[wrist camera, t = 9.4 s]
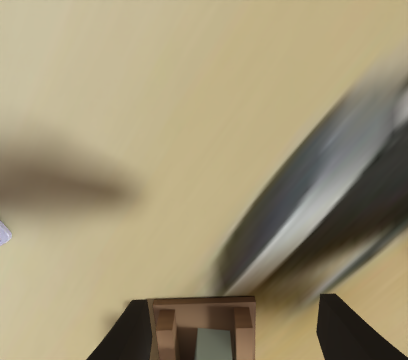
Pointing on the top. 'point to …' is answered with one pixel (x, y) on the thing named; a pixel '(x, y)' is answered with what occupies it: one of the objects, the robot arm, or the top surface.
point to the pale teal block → (213, 345)
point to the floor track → (204, 325)
